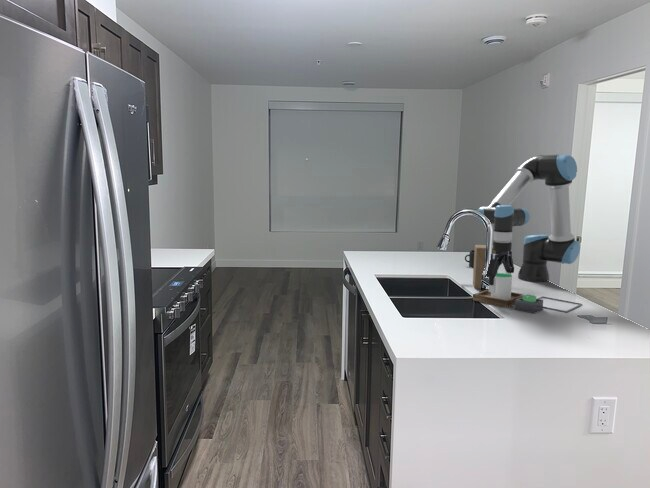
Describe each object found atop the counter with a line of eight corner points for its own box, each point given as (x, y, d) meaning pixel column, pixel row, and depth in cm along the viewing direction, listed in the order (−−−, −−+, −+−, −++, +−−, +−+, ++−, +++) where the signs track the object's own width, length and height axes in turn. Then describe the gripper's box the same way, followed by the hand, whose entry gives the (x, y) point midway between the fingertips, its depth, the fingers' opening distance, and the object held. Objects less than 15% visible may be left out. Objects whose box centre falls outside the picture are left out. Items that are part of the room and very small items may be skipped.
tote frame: (542, 297, 220) (542, 296, 220) (582, 304, 208) (582, 303, 208) (525, 304, 209) (525, 303, 208) (566, 312, 196) (566, 311, 196)
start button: (525, 304, 204) (526, 294, 204) (537, 307, 201) (538, 296, 200) (519, 306, 201) (520, 296, 200) (532, 309, 197) (532, 298, 196)
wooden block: (496, 290, 233) (498, 248, 230) (474, 289, 235) (476, 247, 232) (493, 285, 243) (496, 245, 240) (472, 284, 245) (474, 244, 242)
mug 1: (463, 264, 295) (464, 249, 294) (484, 265, 293) (485, 250, 291) (464, 267, 286) (465, 252, 285) (486, 268, 284) (487, 253, 282)
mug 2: (486, 293, 221) (487, 271, 219) (505, 294, 220) (506, 271, 219) (493, 300, 209) (495, 277, 208) (513, 301, 209) (514, 277, 207)
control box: (523, 305, 207) (524, 296, 206) (542, 309, 201) (543, 300, 200) (514, 309, 201) (515, 299, 200) (533, 313, 195) (534, 303, 195)
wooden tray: (491, 294, 226) (491, 288, 225) (525, 300, 214) (525, 294, 214) (472, 300, 215) (473, 294, 214) (507, 307, 203) (508, 301, 203)
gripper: (508, 237, 222) (505, 283, 225) (479, 243, 205) (476, 292, 208) (524, 239, 216) (521, 286, 219) (496, 245, 199) (493, 296, 203)
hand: (499, 289), depth 214 cm, fingers open, 13 cm apart
